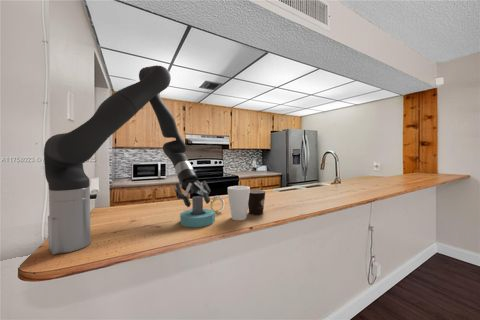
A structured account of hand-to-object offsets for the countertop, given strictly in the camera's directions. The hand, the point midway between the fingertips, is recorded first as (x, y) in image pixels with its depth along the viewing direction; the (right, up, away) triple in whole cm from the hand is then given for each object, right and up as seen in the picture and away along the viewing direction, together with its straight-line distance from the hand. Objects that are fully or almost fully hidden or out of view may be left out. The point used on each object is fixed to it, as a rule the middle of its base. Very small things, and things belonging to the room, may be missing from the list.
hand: (199, 204), depth 82 cm
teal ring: (-1, -7, +1) cm, 7 cm away
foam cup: (+16, -7, +6) cm, 18 cm away
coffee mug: (+25, -7, +14) cm, 29 cm away
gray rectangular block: (-1, -7, +1) cm, 7 cm away
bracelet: (+6, -7, +14) cm, 17 cm away
